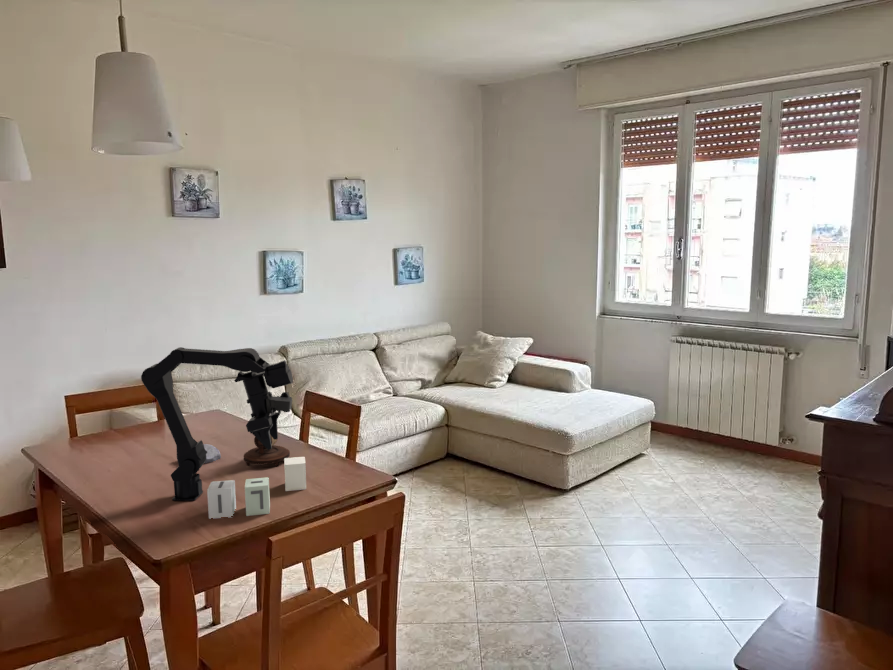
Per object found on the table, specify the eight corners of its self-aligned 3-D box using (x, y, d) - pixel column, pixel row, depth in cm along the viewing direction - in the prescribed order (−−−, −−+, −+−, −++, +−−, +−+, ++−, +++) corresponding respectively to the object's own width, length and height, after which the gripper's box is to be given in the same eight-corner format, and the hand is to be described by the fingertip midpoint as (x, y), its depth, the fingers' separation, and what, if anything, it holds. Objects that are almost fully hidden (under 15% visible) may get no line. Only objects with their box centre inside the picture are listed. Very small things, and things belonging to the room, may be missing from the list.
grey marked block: (208, 519, 169) (206, 489, 168) (213, 509, 175) (211, 480, 174) (232, 517, 170) (230, 488, 169) (236, 508, 176) (234, 479, 175)
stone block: (224, 464, 216) (208, 452, 222) (224, 451, 215) (208, 439, 220) (191, 475, 207) (175, 462, 213) (191, 462, 206) (175, 449, 211)
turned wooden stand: (281, 469, 205) (279, 408, 202) (236, 468, 206) (233, 407, 203) (295, 453, 220) (293, 397, 217) (253, 453, 221) (250, 396, 218)
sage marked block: (246, 516, 171) (244, 487, 169) (247, 507, 177) (245, 478, 175) (269, 513, 172) (268, 484, 171) (270, 504, 178) (268, 476, 177)
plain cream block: (285, 491, 188) (284, 465, 186) (285, 483, 193) (284, 458, 192) (306, 489, 189) (305, 463, 188) (305, 481, 195) (304, 456, 194)
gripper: (279, 393, 172) (295, 447, 174) (290, 378, 190) (305, 427, 193) (238, 403, 172) (255, 457, 174) (254, 387, 190) (269, 436, 192)
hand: (273, 444), depth 183 cm, fingers open, 9 cm apart
